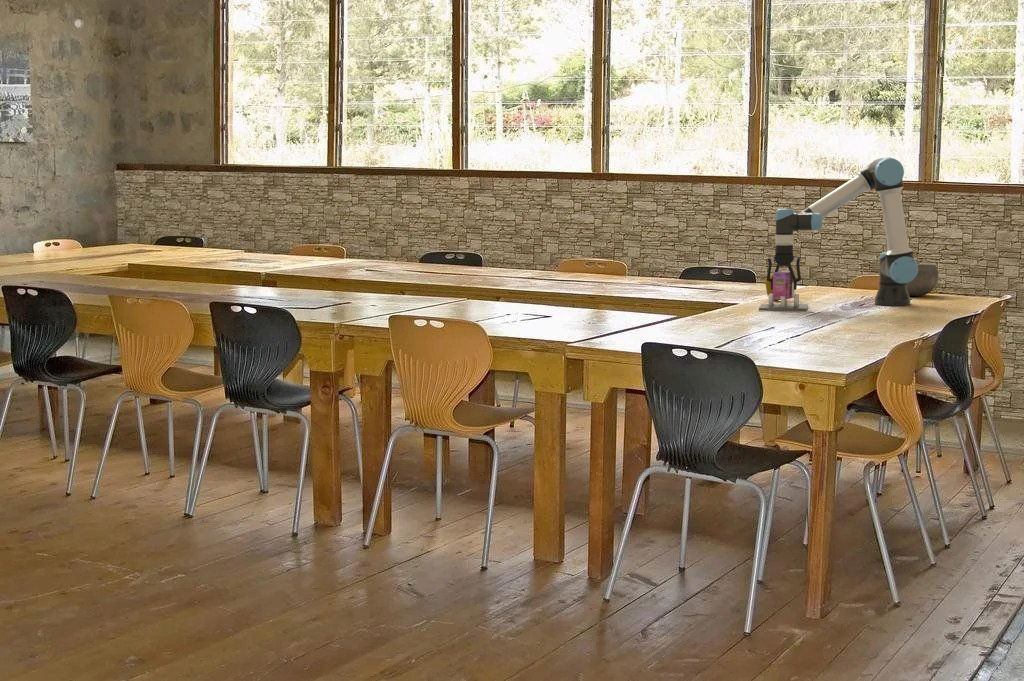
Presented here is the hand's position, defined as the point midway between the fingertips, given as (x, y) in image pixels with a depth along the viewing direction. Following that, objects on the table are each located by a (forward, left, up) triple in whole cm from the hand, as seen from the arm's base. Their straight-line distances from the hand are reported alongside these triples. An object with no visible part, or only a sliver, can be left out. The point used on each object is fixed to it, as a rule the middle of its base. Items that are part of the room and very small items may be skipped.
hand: (783, 297), depth 551 cm
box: (0, 0, -1) cm, 1 cm away
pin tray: (0, 0, -5) cm, 5 cm away
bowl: (-57, -64, -5) cm, 86 cm away
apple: (+5, -38, -5) cm, 39 cm away
